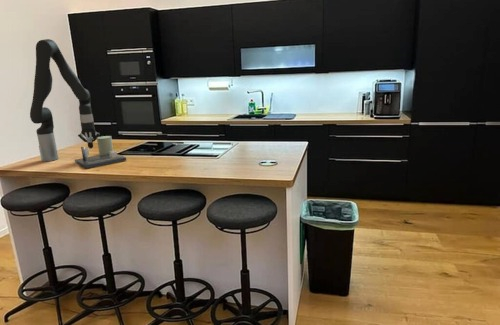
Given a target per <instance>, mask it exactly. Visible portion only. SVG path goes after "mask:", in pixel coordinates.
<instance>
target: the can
mask: <svg viewBox="0 0 500 325" xmlns="http://www.w3.org/2000/svg"><path fill="white" fill-rule="evenodd" d="M96 141H97V146H98V155H103V154H108V153H109V152H110V151H114V147H113V138H112V135H105V136H104V135H101V136H98V137H97V139H96Z"/></svg>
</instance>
